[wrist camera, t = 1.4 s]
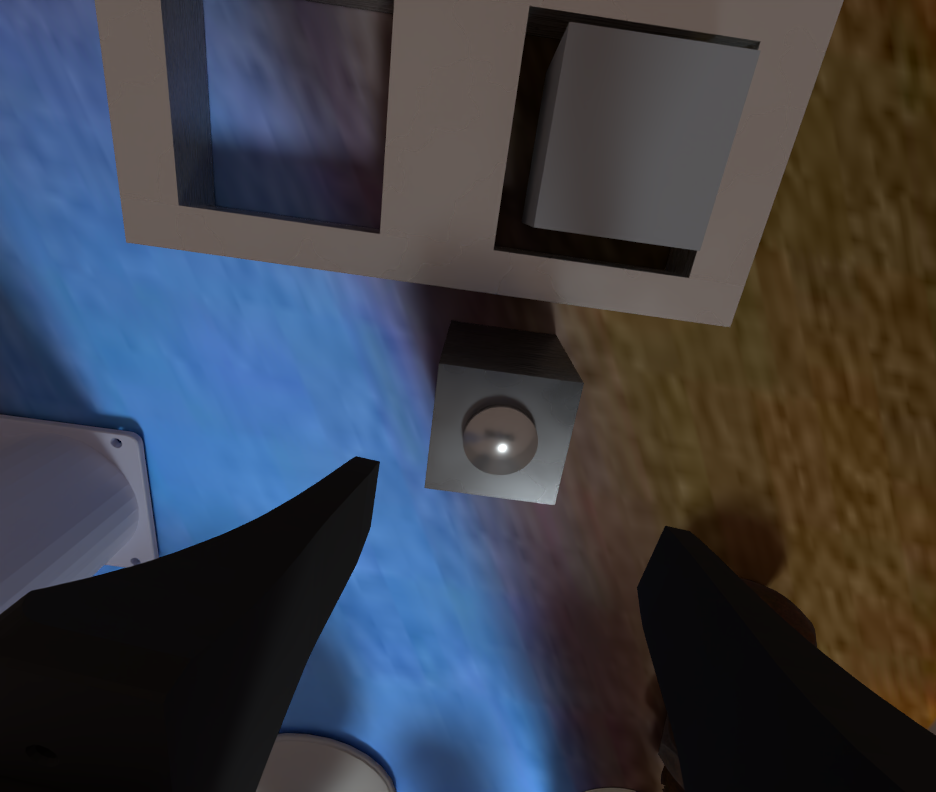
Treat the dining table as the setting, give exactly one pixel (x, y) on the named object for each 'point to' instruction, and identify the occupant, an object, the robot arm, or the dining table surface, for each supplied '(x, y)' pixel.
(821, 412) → the dining table surface
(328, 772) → the chalice
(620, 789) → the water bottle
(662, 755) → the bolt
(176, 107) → the tray
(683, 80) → the slate block
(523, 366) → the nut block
